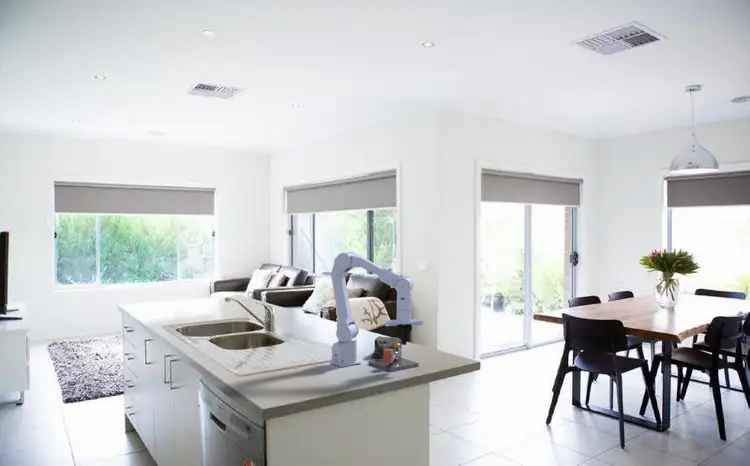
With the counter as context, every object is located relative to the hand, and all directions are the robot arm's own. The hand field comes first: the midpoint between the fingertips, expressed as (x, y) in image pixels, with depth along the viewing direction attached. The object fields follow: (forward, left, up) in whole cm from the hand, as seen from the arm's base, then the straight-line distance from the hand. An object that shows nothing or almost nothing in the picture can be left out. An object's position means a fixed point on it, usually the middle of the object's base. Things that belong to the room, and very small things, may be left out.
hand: (403, 344), depth 200 cm
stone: (+8, +21, -10) cm, 25 cm away
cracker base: (0, +6, -9) cm, 11 cm away
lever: (-1, +6, -8) cm, 10 cm away
